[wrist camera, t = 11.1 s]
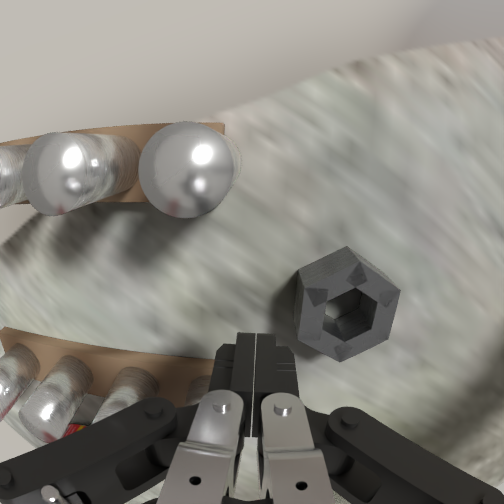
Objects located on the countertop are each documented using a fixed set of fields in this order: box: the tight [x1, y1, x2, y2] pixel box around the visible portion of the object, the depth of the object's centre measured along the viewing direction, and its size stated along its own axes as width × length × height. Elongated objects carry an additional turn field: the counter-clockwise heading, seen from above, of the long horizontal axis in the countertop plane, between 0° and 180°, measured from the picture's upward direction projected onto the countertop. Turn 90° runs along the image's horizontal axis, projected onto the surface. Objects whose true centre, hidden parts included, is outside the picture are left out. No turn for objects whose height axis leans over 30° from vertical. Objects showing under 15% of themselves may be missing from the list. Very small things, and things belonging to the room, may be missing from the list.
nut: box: [293, 246, 401, 362], centre depth 17 cm, size 5×6×2 cm
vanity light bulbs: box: [0, 121, 242, 443], centre depth 15 cm, size 19×18×7 cm
